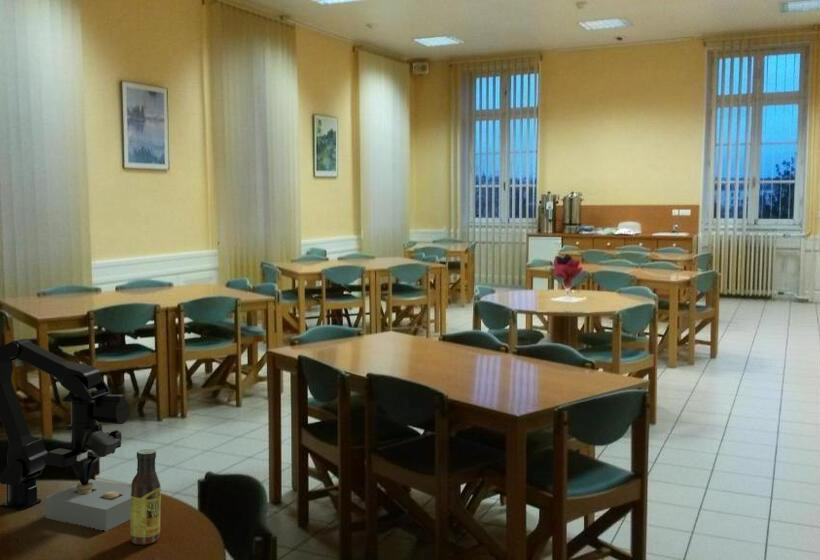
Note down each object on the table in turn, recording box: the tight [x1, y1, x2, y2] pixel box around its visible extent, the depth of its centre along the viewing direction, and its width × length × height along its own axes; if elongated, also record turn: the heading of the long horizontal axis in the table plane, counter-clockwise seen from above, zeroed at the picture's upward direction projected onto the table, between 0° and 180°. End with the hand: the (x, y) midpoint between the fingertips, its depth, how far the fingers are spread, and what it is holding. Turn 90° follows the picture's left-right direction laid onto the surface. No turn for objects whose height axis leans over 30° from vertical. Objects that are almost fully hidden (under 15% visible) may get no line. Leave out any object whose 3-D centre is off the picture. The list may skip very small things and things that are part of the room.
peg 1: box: [76, 482, 93, 495], centre depth 187 cm, size 4×4×6 cm
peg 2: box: [103, 492, 119, 500], centre depth 184 cm, size 4×4×6 cm
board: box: [45, 478, 131, 532], centre depth 186 cm, size 18×14×5 cm
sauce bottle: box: [129, 448, 162, 546], centre depth 171 cm, size 7×6×20 cm
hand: (84, 484), depth 187 cm, fingers closed, pressing on peg 1
